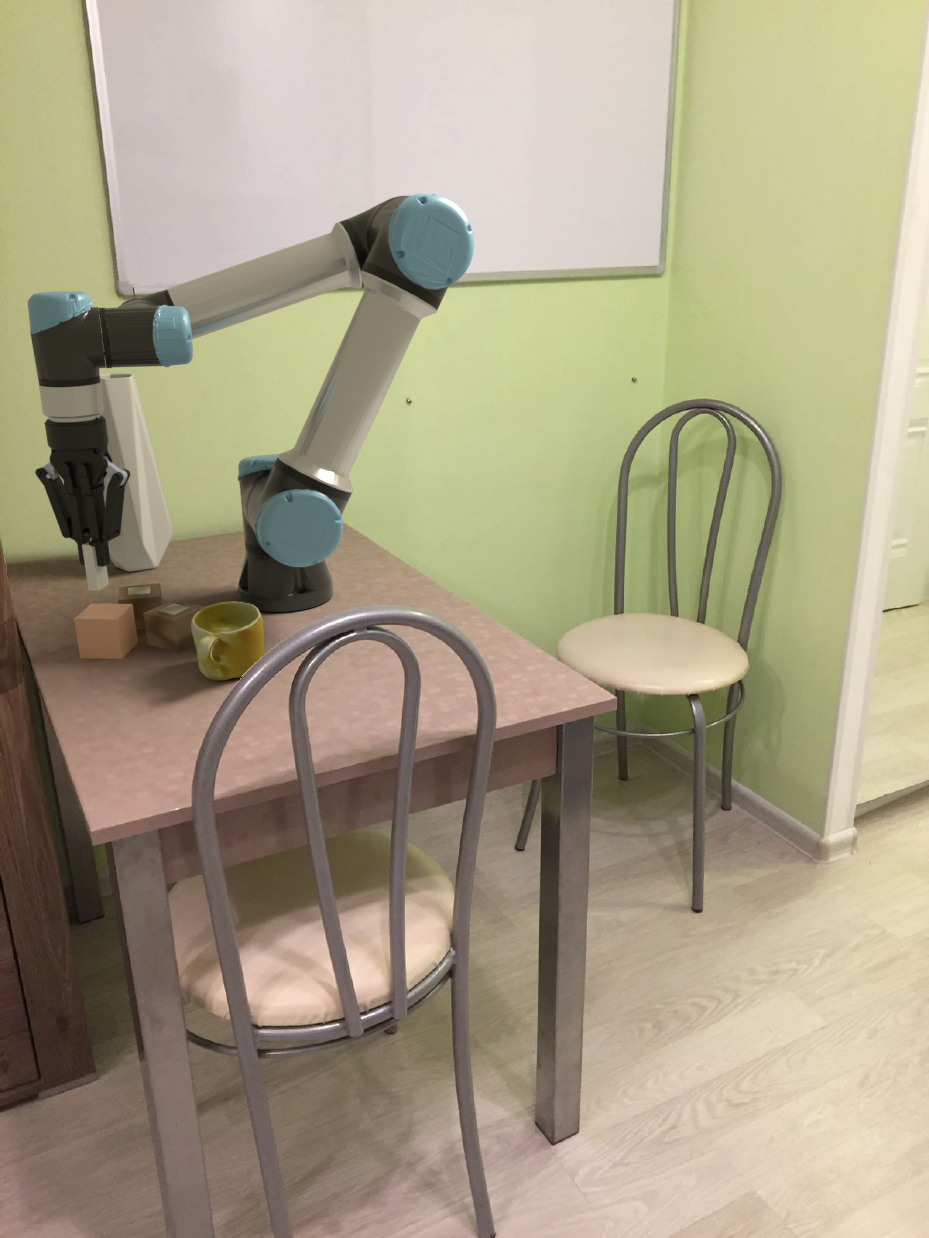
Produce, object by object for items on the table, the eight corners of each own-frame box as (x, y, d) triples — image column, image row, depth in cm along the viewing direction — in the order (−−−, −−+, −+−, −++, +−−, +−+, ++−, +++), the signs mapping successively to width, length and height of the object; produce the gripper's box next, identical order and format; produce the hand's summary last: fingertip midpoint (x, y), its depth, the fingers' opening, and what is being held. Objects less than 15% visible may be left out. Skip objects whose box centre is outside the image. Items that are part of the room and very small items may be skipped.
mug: (216, 634, 144) (220, 579, 137) (277, 664, 141) (284, 610, 135) (161, 682, 134) (162, 626, 128) (225, 715, 132) (230, 659, 126)
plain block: (137, 642, 146) (132, 604, 144) (122, 659, 141) (116, 619, 138) (97, 642, 147) (91, 603, 144) (80, 658, 141) (74, 618, 139)
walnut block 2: (208, 638, 147) (204, 605, 146) (178, 653, 143) (174, 619, 141) (177, 631, 150) (173, 598, 148) (147, 645, 145) (143, 611, 143)
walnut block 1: (163, 613, 157) (159, 582, 155) (164, 627, 152) (160, 594, 150) (123, 617, 156) (118, 585, 154) (122, 631, 150) (117, 598, 148)
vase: (185, 555, 184) (164, 371, 172) (159, 575, 173) (134, 381, 161) (122, 553, 186) (97, 370, 174) (92, 573, 175) (63, 380, 163)
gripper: (135, 413, 133) (155, 582, 142) (48, 409, 136) (72, 575, 145) (103, 423, 127) (126, 600, 135) (12, 419, 129) (40, 592, 138)
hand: (98, 587), depth 140 cm, fingers closed
